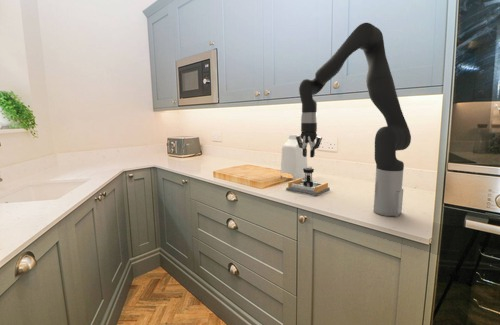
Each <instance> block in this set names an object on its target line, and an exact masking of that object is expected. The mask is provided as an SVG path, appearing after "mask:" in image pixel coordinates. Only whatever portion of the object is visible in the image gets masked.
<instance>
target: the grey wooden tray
mask: <svg viewBox="0 0 500 325" xmlns="http://www.w3.org/2000/svg"><path fill="white" fill-rule="evenodd" d="M304 180H305V179H304ZM304 180H303V179H302V180H301V183H303V182H304ZM321 184H323V183H321V182H316V181H315V182H314V181H313V187H308V186H303V184H291V188H295V189H300V190H305V191H310V192H315V187H316V186H318V185H321Z"/></svg>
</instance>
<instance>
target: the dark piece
mask: <svg viewBox="0 0 500 325" xmlns="http://www.w3.org/2000/svg"><path fill="white" fill-rule="evenodd" d="M303 170H304V173H305V178H304V182H303V183H300V184H303V186H308V187H313V182H314V181H313V173H314V171H315V169H314V168H313V167H312V166H307V167H305V168H304V169H303ZM306 174H307V177H306Z"/></svg>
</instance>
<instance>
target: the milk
mask: <svg viewBox="0 0 500 325" xmlns="http://www.w3.org/2000/svg"><path fill="white" fill-rule="evenodd" d="M288 136H289V137H288V138H287V140H286V141H285V142H284V144H283V145H282V146H281V147H282V148H281V162H280V163H281V164H280V174H281V173H288V174H291V175H292V176H293V179H292V181H293V180H296V179H299V178H302V179H305V173H304V170H303V169H304V168H305V167H308V156H306V157H303V149H302V148H299V145H298V142H297V139H296V137H297V136H300V135H299V134H289V135H288ZM302 143H303V141H302ZM306 149H307V148H306ZM307 150H308V149H307ZM306 177H307V174H306Z"/></svg>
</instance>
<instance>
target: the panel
mask: <svg viewBox="0 0 500 325" xmlns="http://www.w3.org/2000/svg"><path fill="white" fill-rule="evenodd" d="M301 180H303V178H299V179H296V180H293V179H292V180H291V181H288V183H287V184H288V185H287V187H286V188H285V190H286V191H288V192H293V193H299V194H303V195H307V196H308V195H309V196H314V197H318V196H319V195H322V194H324V193H326V192H329V191H330V189H331V188H330V187H328V186H329V182H324V183H322V184H321V185H318V186H316V187H315V192H310V191H305V190H300V189H295V188H291V184H300V183H301Z"/></svg>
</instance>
